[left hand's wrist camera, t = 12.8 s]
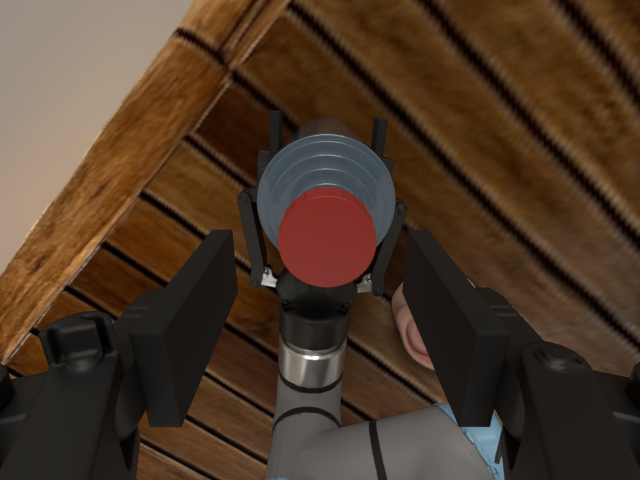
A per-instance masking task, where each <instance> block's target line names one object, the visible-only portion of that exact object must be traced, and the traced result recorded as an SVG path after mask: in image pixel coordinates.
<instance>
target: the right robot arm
mask: <svg viewBox="0 0 640 480" xmlns="http://www.w3.org/2000/svg"><path fill="white" fill-rule="evenodd" d="M282 117H283V111H275V110H274V111H270V149H261V150H260V152H259V154H258V183H257V185H256V186H253V187H247V188H245V189H244V190H243V191H242V192H241V193H240V194H239V195H238V197H237V202H238V206H239V211H240V215H241V220H242V225H243V229H244V234H245V238H246V243H247V248H248V252H249V257H250V261H251V266H252V269H251V275H250V281H249V284H250V286H251V287H252V288H259V287H260V286H261V285H266V286H271V287H276V290H277V292H278V294H279V296H280V319H279V330H280V334H279V352H278V388H277V402H276V409H275V415H274V422H273V429H272V442H271V448H270V453H269V458H268V464H267V469H266V474H265V480H504V471H503V462H502V456H501V459H500V463H499V464H496V463H494V460H495V455H496V451H497V446H498V442H499V438H500V434H501V430H502V428H501V426H500V424H499V422H498V420H497V418H496V416H495V415H494V413H493V416H492V420H491V425H490V427H459V426H458V424H457V422H456V419H455V417H454V415H453V412H452V410H451V407H450V405H449V403H441V404H438V403H436V404H432V407H428V408H424V409H420V410H416V411H412V412H408V413H404V414H400V415H396V416H392V417H388V418H384V419H380V420H373V421H367V422H363V423H358V424H354V425H349V426H345V427H341V412H340V399H341V385H342V375H343V369H344V363H345V353H346V344H347V338H346V337H347V334H348V326H349V317H350V309H351V302H352V300H353V298H354V297H355V296H356V294H357V293H361V292H372V293H373V295H375V296H381V295H382V294H383V293H384V274H385V271H386V268H387V266H388V263H389V260H390V257H391V255H392V252H393V249H394V247H395V244H396V241H397V239H398V236H399V233H400V231H401V228H402V225H403V222H404V220H405V217H406V214H407V211H408V208H407V206H406V205H405V204H404V202H403V201H402V200H401V199H400V198H397V197H395V201H396V202H395V212H394V216H393V220H392V223H391V225H390V228H389V230H388V232H387V234H386V235H385V237H384V238H383V240H382V241H381V242H380V243H379V245H378V246H377V247H376V250H375V254H374V257H373V259H372V261H371V263H370V265H369V270H365V271H364V272H363V274H362V277H361V278H360V279H359V280H355V279H354V280H353V281H351V282H349V283H347V284H344V285H341V286H336V287H317V286H313V285H310V284H307V283H305V282H303V281H301V280H300V279H298V278H297V277H295V276H294V275H293V274H292V273H291V272H290V271H289V270H288V269H287V267H285V268H284V270H283V271H282V272H281V273H280V274H279V275H276V274H275V273H274V272H273V267H272V266H271V265H270V264H269V263H267V252H266V247H265V242H264V237H263V232H262V227H261V222H260V219H259V215H258V210H257V192H258V187H259V183H260V180H261V177H262V175H263V173H264V171H265V169H266V167H267V165H268V164H269V163H270V161H271V160H272V159H273V157H274V156H275V155H276V154H277V153H278V151H279V150H280V149H281V148H282ZM387 121H388V120H387V119H384V118H374V126H373V135H372V144H371V149H372V150H373V151H374V152H375V153H376V155H377V156H378V157H379V158H380V159H381V160H382V162H383V163H384V164H385V166H386V167H387V169H388V171H389V173H390V175H391V178H392V172H393V162H392V159H391V158H389V157H383V152H384V144H385V136H386V129H387Z"/></svg>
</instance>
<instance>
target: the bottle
mask: <svg viewBox="0 0 640 480" xmlns="http://www.w3.org/2000/svg"><path fill="white" fill-rule="evenodd" d="M329 186H331V187H334V188H339V189H342V188H343V189H344V190H345V191H347V192H349V193H351V194H353V195H354V194H355V196H356V197H357V198H358V199H359V200H360V201H361V202H362V203H364V204H365V207H366V209H367V211H368V213H370V215H371V217H372V220H373V222H374V223H373V226H374V229H375V231H376V247H377V246H378V245H379V243H380V242H381V241H382V240H383V238H384V237H385V235H386V234H387V232H388V230H389V228H390V225H391V223H392V220H393V216H394V212H395V202H396V201H395V190H394V184H393V181H392V178H391V175H390V173H389V171H388V169H387V167H386V166H385V164H384V163H383V162H382V160H381V159H380V158H379V157H378V156H377V155H376V153H375V152H374V151H373V150H372V149H371V148H370V147H369V146H368V145H367V144H366V143H365V142H364V141H363V140H362V139H361V138H360V136H359V135H358V134H357V133H356V132H355V131H354V130H353V129H352V128H351V127H350V126H349V125H347V124H346V123H344V122H343V121H340V120H338V119H335V118H330V117H320V118H315V119H312V120H309V121H307V122H306V123H304V124H302V125H301V126H300V127H299V128H298V129H297V130H296V131H295V132H294V133H293V135H292V136H291V137H290V138H289V139H288V141H287V142H286V143H285V144H284V145H283V147H282V148H281V149H280V150H279V151H278V153H277V154H276V155H275V156H274V157H273V159H272V160H271V161H270V163H269V164H268V165H267V167H266V169H265V171H264V173H263V175H262V177H261V180H260V183H259V187H258V192H257V210H258V215H259V219H260V222H261V225H262V227H263V229H264V231H265V233H266V235H267V236H268V238H269V240H270V241H271V242H272V243H273V244H274V246H275V247H276V248H277V249H278V250H279V248H278V235H279V231H280V229H279V226H280V223H281V220H282V219H283V218H284V214H285V211H286V208H288V207H289V206H290V205H291V203H292V202H293V200H294V198H295V199H296V198H297V197H299V196H300V195H301V194H303V193H304V191H306V192H307V191H309V190H312V189H315V188H316V187H318V188H320V187H329Z"/></svg>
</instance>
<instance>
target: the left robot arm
mask: <svg viewBox="0 0 640 480" xmlns="http://www.w3.org/2000/svg"><path fill="white" fill-rule="evenodd" d="M237 293H238V287H237V276H236V266H235V255H234V244H233V234H232V230H212V231H211V232H210V233H209V234H208V236H207V237H206V238H205V239H204V241H203V242H202V243H201V244H200V245H199V247H198V248H197V249H196V250H195V252H194V253H193V254H192V255H191V257H190V258H189V259H188V260H187V261H186V263H185V264H184V265H183V266H182V268H181V269H180V270H179V271H178V273H177V274H176V275H175V276H174V278H173V279H172V280H171V281H170V282H169V284H168V285H167V286H166V287H165V289H151V290H149V291H147V292H146V293H144V294H142V295H141V296H139V297H137V298H136V299H135V301H134V302H133V303H132V304H131V305H130V306H129V307H128V309H126V310H125V312H124V313H123V314H122V315H121V318H118V319H117V320H116V321H115V323H114V324H113V325H112V320H111V316H109V315H108V314H106V313H105V312H99V311H88V312H80V313H76V314H72V315H69V316H66V317H64V318H61V319H59V320H56V321H55V322H53V323H51V324H50V325H48V326H46V327H45V328H44V329H43V330H42V331H41V332H40V333H39V334H38V335H39V338H40V341H41V344H42V347H43V350H44V353H45V356H46V359H47V362H48V365H49V369H48V371H47V372H45V373H40V374H35V375H30V376H25V377H20V378H15V379H11V378H10V376H9V373H8V371H7V368H6V367H5V366H3V365H2V364H0V480H136V472H137V464H138V455H139V446H140V435H139V430H138V426H137V425H138V423H139V421H140V419H141V417H142V416H143V414H144V412H145V410H146V412H147V416H148V420H149V425H150V427H181V426H182V424H183V422H184V419H185V417H186V415H187V412H188V410H189V407H190V405H191V403H192V400H193V398H194V396H195V393H196V391H197V388H198V386H199V384H200V381H201V379H202V377H203V374H204V372H205V369H206V367H207V365H208V362H209V360H210V358H211V355H212V353H213V350H214V348H215V346H216V343H217V341H218V339H219V336H220V334H221V331H222V329H223V327H224V324H225V322H226V319H227V317H228V315H229V312H230V310H231V308H232V305H233V303H234V300H235V298H236V296H237ZM402 293H403V296H404V298H405V300H406V303H407V305H408V308H409V310H410V312H411V315H412V317H413V319H414V322H415V324H416V327H417V329H418V331H419V334H420V336H421V339H422V341H423V343H424V346H425V348H426V350H427V353H428V355H429V358H430V360H431V362H432V365H433V367H434V369H435V372H436V374H437V377H438V379H439V381H440V384H441V386H442V388H443V391H444V393H445V396H446V398H447V400H448V403H449V405H450V407H451V410H452V412H453V415H454V417H455V419H456V422H457V424H458V426H459V427H490V425H491V420H492V416H493V412H494V408H495V410H496V412H497V414H498V416H499V417H500V419H501V421H502V423H503V426H502V430H501V434H500V438H499V442H498V446H497V451H496V455H495V460H494V463H496V464H499V463H500V459H501V456H502V462H503V471H504V480H640V362H639V363H638V364H636V365H635V366H634V368H633V371H632V373H631V376H630V378H628V377H623V376H618V375H613V374H608V373H603V372H598V371H594V370H592V368H591V366H590V365H589V364H588V363H587V361H586V360H585V359H584V358H583V357H581V356H580V355H579V354H577V353H576V352H574V351H572V350H570V349H568V348H566V347H564V346H562V345H558V344H555V343H551V342H545V341H544V340H543V339H542V338H541V337H540V336H539V335H538V334H537V333H536V332H535V331H534V330H533V328H532V327H531V326H530V325H529V324H528V323H527V322H526V321H525V320H524V319H523V318H522V316H520V314H519V313H518V312H517V311H516V310H515V309H514V308H512V306H511V305H510V303H509V302H508V301H507V300H506V299H505V298H504V297H503V296H502V295H500V294H498V293H497V292H495V291H493V290H491V289H490V288H475V287H474V286H473V285H472V284H471V282H470V281H469V280H468V279H467V278H466V276H465V275H464V274H463V273H462V271H461V270H460V269H459V268H458V266H457V265H456V264H455V263H454V262H453V260H452V259H451V258H450V257H449V255H448V254H447V253H446V252H445V250H444V249H443V248H442V247H441V246H440V244H439V243H438V242H437V241H436V239H435V238H434V237H433V236H432V234H431V233H430V232H429V231H428V230H408V234H407V244H406V255H405V266H404V276H403V287H402Z"/></svg>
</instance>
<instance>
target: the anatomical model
mask: <svg viewBox="0 0 640 480" xmlns="http://www.w3.org/2000/svg"><path fill="white" fill-rule="evenodd" d="M466 278H467V277H466ZM467 279H468V278H467ZM468 280H469V279H468ZM469 281H470V280H469ZM470 282H471V281H470ZM471 284H472V285H473V283H472V282H471ZM473 286H474V285H473ZM402 287H403V282H402V283H401V285H400V286H399V287H398V289H397V290H396V292H395V293H394V295H393V297H392V310H393V315H394V318H395V322H396V325H397V327H398V330H399V332H400V336H401V339H402V342H403V345H404V347H405V349H406V351H407V352H408V353H409V355H410V356H411V357H412V358H413V359H414V360H415V361H417V362H418V363H420V364H421V365H423V366H425V367H427V368H429V369H432V370H435V369H434V367H433V365H432V362H431V360H430V358H429V355H428V353H427V350H426V348H425V346H424V343H423V341H422V339H421V336H420V334H419V331H418V329H417V327H416V324H415V322H414V319H413V317H412V315H411V312H410V310H409V308H408V305H407V303H406V300H405V298H404V296H403V293H402ZM474 287H475V286H474Z"/></svg>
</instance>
